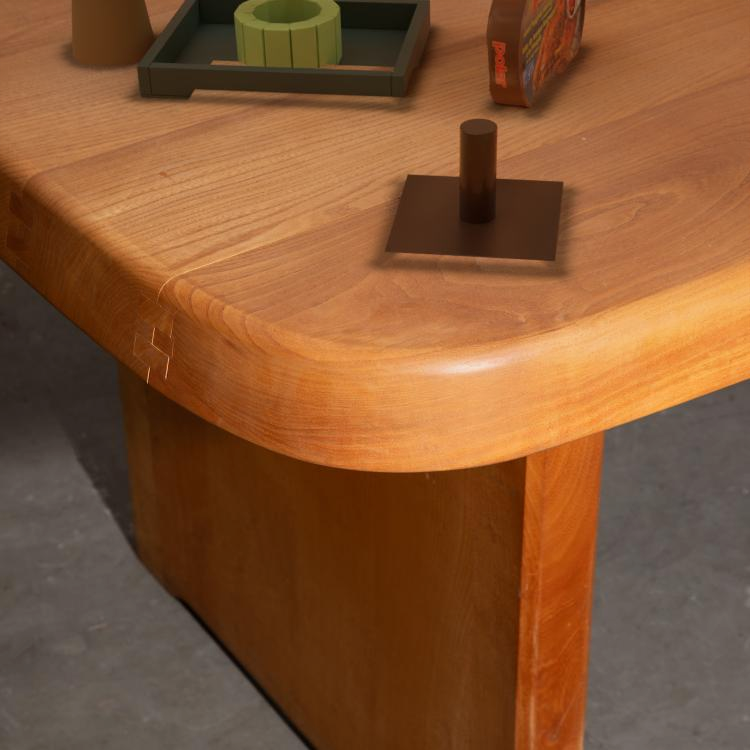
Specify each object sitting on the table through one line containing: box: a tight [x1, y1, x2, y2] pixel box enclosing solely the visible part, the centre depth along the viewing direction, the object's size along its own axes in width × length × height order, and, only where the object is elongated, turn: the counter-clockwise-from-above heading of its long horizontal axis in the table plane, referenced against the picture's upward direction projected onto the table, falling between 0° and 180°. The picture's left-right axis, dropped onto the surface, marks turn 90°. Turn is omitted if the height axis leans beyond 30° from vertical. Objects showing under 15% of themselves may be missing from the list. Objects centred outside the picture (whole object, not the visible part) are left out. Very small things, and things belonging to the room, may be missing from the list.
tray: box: [136, 0, 431, 100], centre depth 100 cm, size 18×14×3 cm
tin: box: [485, 0, 587, 109], centre depth 95 cm, size 15×3×8 cm, turn 158°
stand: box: [384, 118, 565, 262], centre depth 79 cm, size 9×9×6 cm
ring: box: [234, 0, 342, 69], centre depth 99 cm, size 7×7×4 cm
